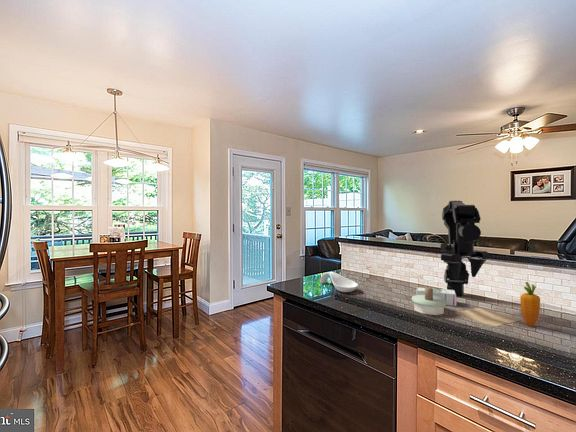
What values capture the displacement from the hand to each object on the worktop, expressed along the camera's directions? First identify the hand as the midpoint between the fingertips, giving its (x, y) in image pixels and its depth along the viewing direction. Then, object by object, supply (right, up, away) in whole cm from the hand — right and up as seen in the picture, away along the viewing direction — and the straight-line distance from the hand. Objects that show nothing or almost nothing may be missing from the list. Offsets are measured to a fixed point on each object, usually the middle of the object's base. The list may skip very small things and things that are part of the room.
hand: (464, 278), depth 112 cm
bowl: (-14, -13, -1) cm, 19 cm away
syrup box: (-14, -9, +11) cm, 20 cm away
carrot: (+11, -13, -17) cm, 24 cm away
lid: (-14, -9, -1) cm, 17 cm away
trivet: (+2, -13, -8) cm, 15 cm away
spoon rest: (-43, -13, +35) cm, 57 cm away
